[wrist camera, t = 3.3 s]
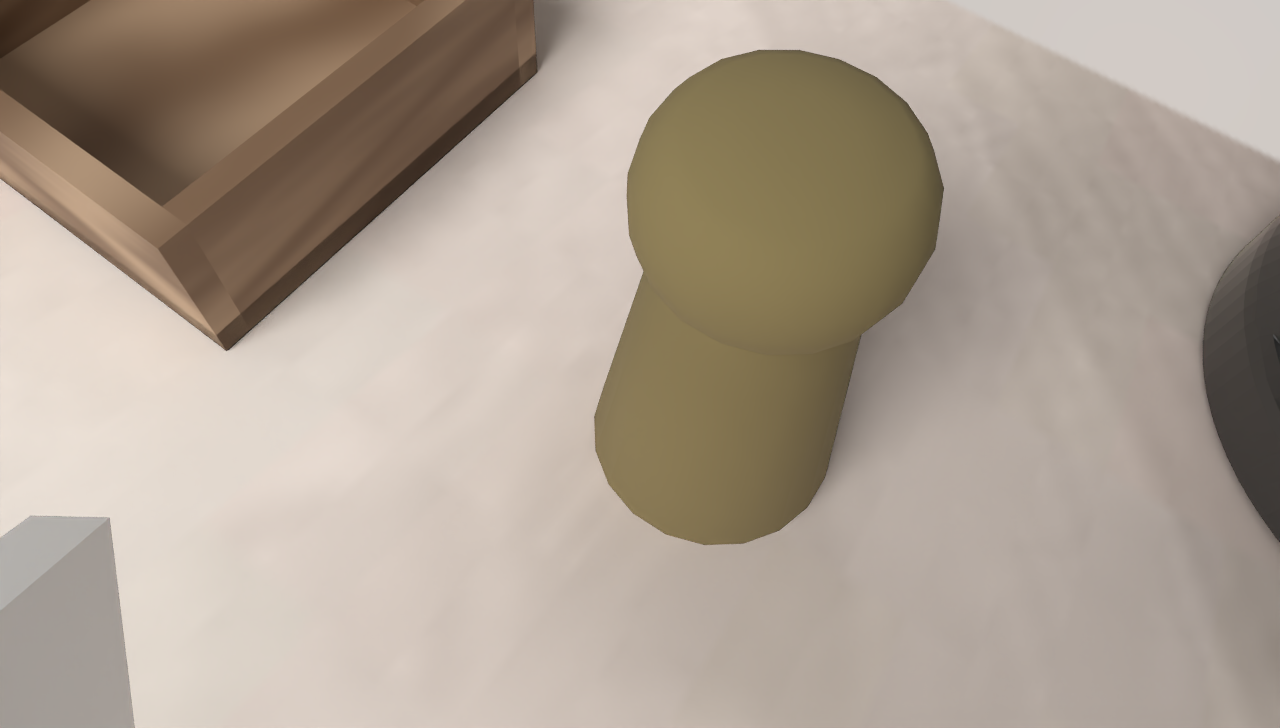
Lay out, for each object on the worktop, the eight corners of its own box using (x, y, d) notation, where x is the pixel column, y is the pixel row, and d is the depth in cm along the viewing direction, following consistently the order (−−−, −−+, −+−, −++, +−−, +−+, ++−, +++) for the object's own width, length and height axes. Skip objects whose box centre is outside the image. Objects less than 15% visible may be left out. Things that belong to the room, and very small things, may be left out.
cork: (671, 591, 22) (745, 368, 12) (551, 387, 24) (532, 65, 15) (878, 473, 24) (1085, 196, 14) (746, 293, 26) (846, -51, 16)
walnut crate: (537, 72, 29) (530, -53, 25) (226, 350, 24) (157, 248, 20) (250, -99, 32) (205, -233, 28) (-81, 116, 27) (-193, -12, 23)
